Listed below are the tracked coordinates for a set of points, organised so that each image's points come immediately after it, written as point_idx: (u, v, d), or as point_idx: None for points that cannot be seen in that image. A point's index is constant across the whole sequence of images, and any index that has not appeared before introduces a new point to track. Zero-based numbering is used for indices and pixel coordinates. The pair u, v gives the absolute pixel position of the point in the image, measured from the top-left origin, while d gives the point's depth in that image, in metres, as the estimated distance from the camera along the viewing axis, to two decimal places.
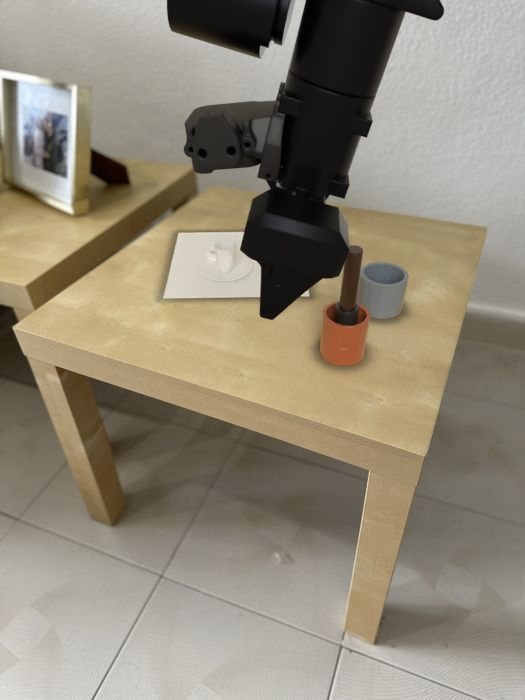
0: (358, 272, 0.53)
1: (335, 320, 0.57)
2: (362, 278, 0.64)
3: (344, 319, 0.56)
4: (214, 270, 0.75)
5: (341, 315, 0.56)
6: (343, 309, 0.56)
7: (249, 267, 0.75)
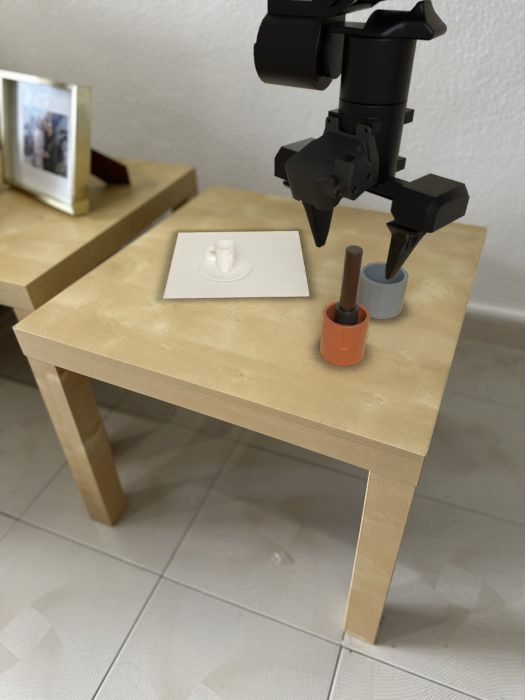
0: (358, 272, 0.53)
1: (335, 320, 0.57)
2: (362, 278, 0.64)
3: (344, 319, 0.56)
4: (214, 270, 0.75)
5: (341, 315, 0.56)
6: (343, 309, 0.56)
7: (249, 267, 0.75)
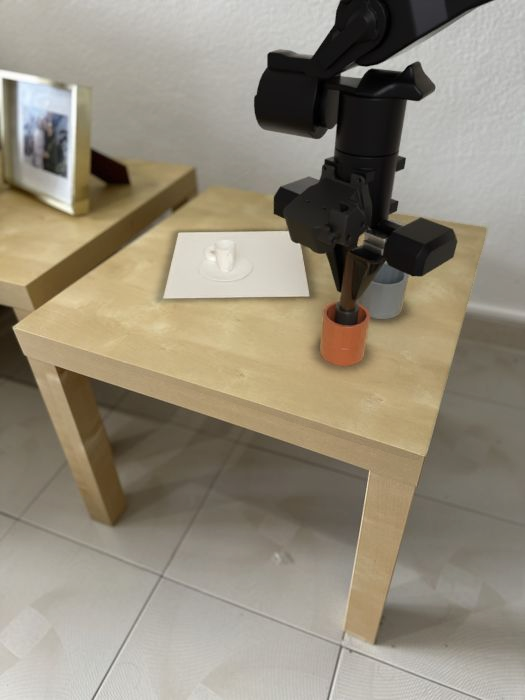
0: None
1: (335, 320, 0.57)
2: None
3: (344, 319, 0.56)
4: (214, 270, 0.75)
5: (341, 315, 0.56)
6: (343, 309, 0.56)
7: (249, 267, 0.75)
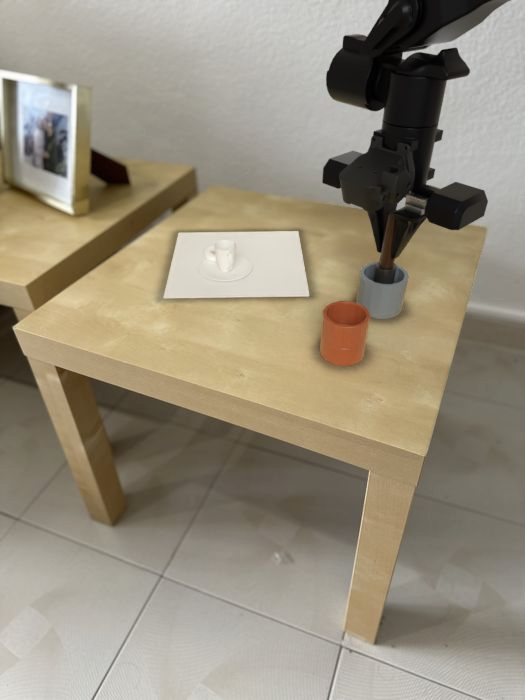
0: None
1: (375, 278, 0.65)
2: (362, 278, 0.64)
3: (383, 277, 0.64)
4: (214, 270, 0.75)
5: (380, 273, 0.64)
6: (382, 267, 0.64)
7: (249, 267, 0.75)
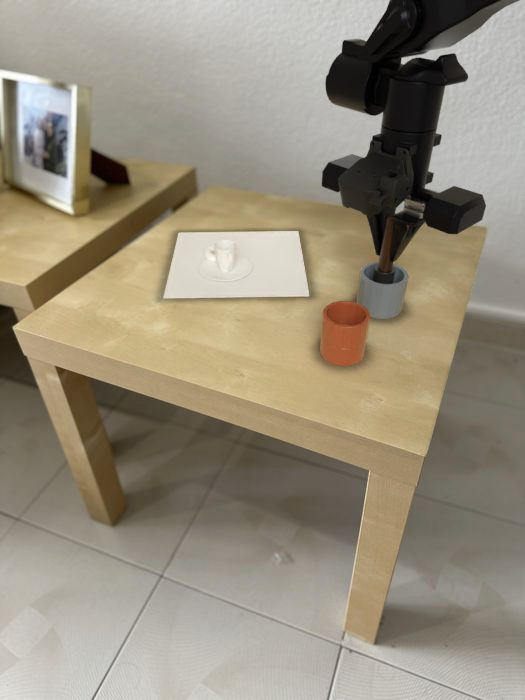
0: None
1: (374, 281, 0.65)
2: (362, 278, 0.64)
3: (382, 280, 0.64)
4: (214, 270, 0.75)
5: (379, 276, 0.64)
6: (381, 270, 0.64)
7: (249, 267, 0.75)
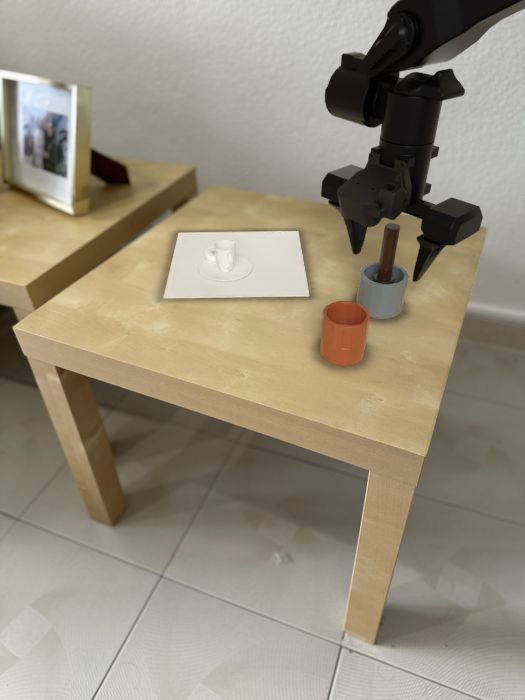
0: (395, 246, 0.62)
1: None
2: (362, 278, 0.64)
3: None
4: (214, 270, 0.75)
5: None
6: (380, 279, 0.65)
7: (249, 267, 0.75)
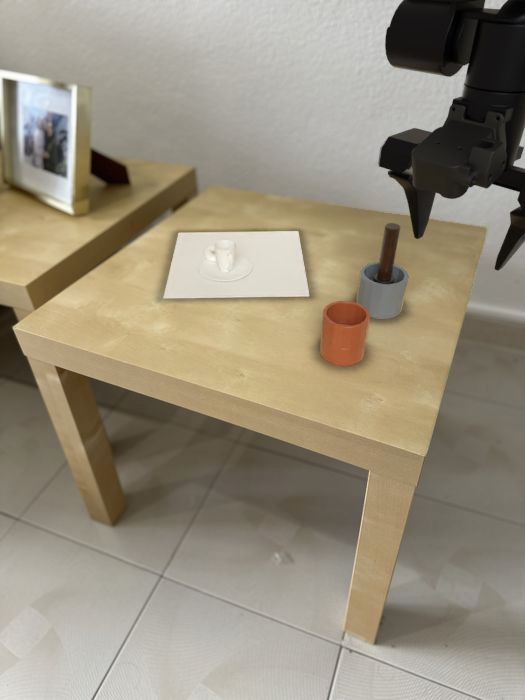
0: (395, 246, 0.62)
1: None
2: (362, 278, 0.64)
3: None
4: (214, 270, 0.75)
5: None
6: (380, 279, 0.65)
7: (249, 267, 0.75)
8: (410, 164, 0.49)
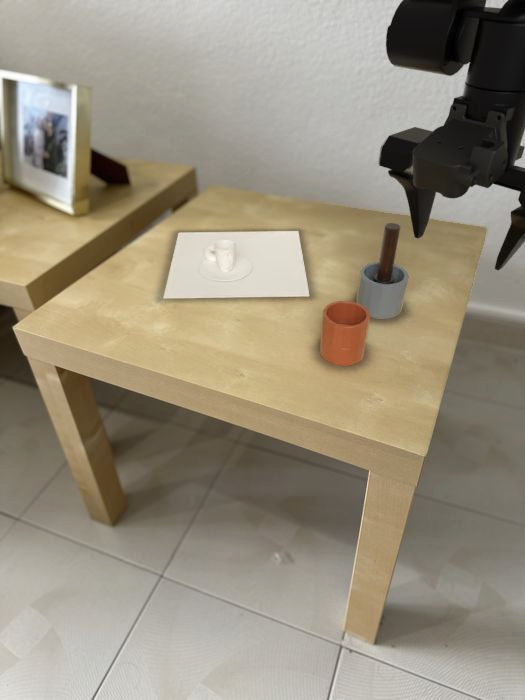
0: (395, 246, 0.62)
1: None
2: (362, 278, 0.64)
3: None
4: (214, 270, 0.75)
5: None
6: (380, 279, 0.65)
7: (249, 267, 0.75)
8: (410, 163, 0.49)
